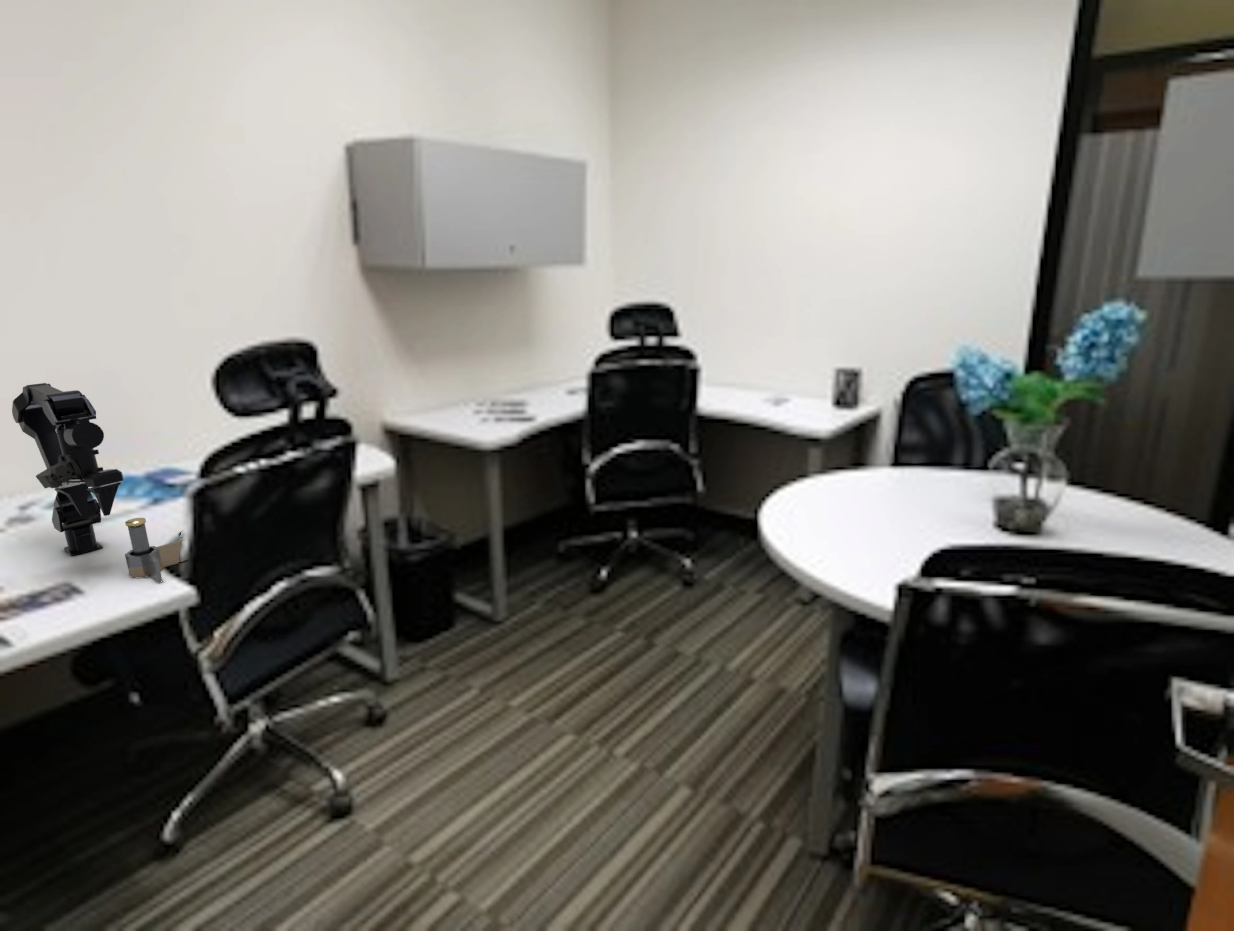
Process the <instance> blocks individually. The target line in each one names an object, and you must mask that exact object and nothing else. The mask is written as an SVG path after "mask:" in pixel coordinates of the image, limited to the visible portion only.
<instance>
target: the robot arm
mask: <svg viewBox="0 0 1234 931" xmlns="http://www.w3.org/2000/svg"><path fill="white" fill-rule="evenodd" d="M11 406H12V407H11V413H12V418H13V420H14V422H15V423H16V424H18V425H19V427H20V429H21V432H22V433H24V434H26V435H27V436H28V437H30V438H31V439H34V441H35V444H36V445H37V448H38V451H39V454H40V456H41V457H42V460H43V463H44V465H45V468H46V469H45V470H43V471H41V472H40V473H37V474H36V475H35V478H36V479H37V480H38V482H39V483H40V484H41V485H42V487H43V488H44V489H48V488H49V489H53V490H54V491H56V495H55V499H54V501H53V504H52V505H53V509H52V514H51V515H52V516H51V523H52V525H53V528H54V529H55V530H56V531H57V532H59V533H63V532H64V536H65V540H66V544H67V546H64V547H63V550H64V551H65V552H66V553H67V554H69V555H70V556H72V557H73V556H74V557H75V556H77V555H80V554H81V555H82V554H85V553H87V552H93V551H97V550H99V549H102V548H104V547H103V545H102V544H100V543H99V541H97V538H96V537H97V536H96V533H95V530H94V524H97V523H98V524H99V523H102V515H103V516H104V517H108V516H110V515H111V512H112V508H113V504H114V502H115V497H116V494H117V491H118V489H119V486H120V485H122V482H123V481H124V480H125V479H124V475H123V472H122V471H121V470H119V469H117V468H115V469H113V468H112V469H104V467H102V466H101V467H100V466H99V465H98V462H97V457H96V456H97V455H100V452H99V449H98V448H97V447H99V446H100V445H101V444H102V443H103V441H104V437H105V432H104V430H103V429H102V428H101V427H100V426H99V425H98V424H97V423H94V422H90V420H96V419H97V411H96V409H95V408H94V406H93V405H92V403H91V401H90V400H89V399H88V398H87V396H86V395H85V394H83V393H82V392H81V391H80V390H78V389H77V390H66V391H63V390H60V389H58V388H55V387H53V386H52V385H51V384H50V383H46V382H41V383H35V384H33V383H32V384H27V385H25V386H23V387H22V392H21V393H20V394H19V395H18V396H17V397H15V398H14V399H13V401H12V405H11ZM95 448H97V449H95ZM93 494H94V496H95V498H94V497H93Z"/></svg>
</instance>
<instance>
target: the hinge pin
mask: <svg viewBox="0 0 1234 931" xmlns="http://www.w3.org/2000/svg"><path fill="white" fill-rule="evenodd" d="M146 522H147V520H146V518H145V517H134V518H131V519H127V520H126V521H125V522H124V523H125V526H126V527H127V529H128V534H129V538H130V539H129V540H130V543H131V546H132V547H131V548H132V550H133V553H134V556H141V555H144V554H148V553H151V551H150V546H151V545H150V543H149V538H148V532H147V528H146V524H145V523H146Z"/></svg>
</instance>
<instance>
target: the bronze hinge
mask: <svg viewBox="0 0 1234 931" xmlns="http://www.w3.org/2000/svg"><path fill="white" fill-rule="evenodd" d="M183 540H184V539H181V540H177V541H173V542H169V543H166V544H163V545H159V546H151V545H149V546H150V551H151V553H148V554H144V555H141V556H134V553H133V549H130V550H129V551H127V552H126V553H125V554H124V556H125V558H124V559H125V561H126V567H127V570H128V576H130V577H131V576H132V577H131V578H132V579H136V578H135V577H144V578H147V577H146V576H148V577H150V579H152V578H153V579H152V580H154V581H155V580H156V581H157V582H156V581H155V582H156V583H158V582H161V581H162V582H163V578H162V574H161V572H162V570H164V568H166V567H170V566H172V565H177V564H180V563H179V555H180V549H181V546H182V541H183ZM162 582H161V583H162Z"/></svg>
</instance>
